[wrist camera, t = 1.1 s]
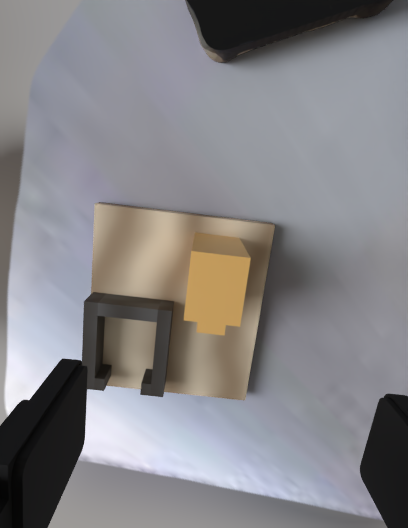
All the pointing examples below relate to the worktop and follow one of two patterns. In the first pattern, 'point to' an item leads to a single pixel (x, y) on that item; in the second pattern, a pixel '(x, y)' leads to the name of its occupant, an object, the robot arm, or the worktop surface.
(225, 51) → the black sponge
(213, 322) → the plug
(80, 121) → the worktop surface
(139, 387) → the board
